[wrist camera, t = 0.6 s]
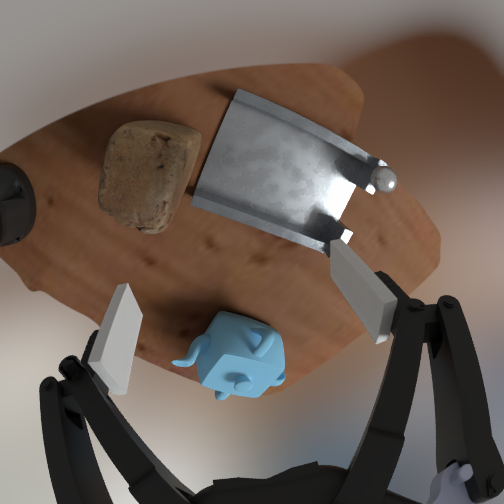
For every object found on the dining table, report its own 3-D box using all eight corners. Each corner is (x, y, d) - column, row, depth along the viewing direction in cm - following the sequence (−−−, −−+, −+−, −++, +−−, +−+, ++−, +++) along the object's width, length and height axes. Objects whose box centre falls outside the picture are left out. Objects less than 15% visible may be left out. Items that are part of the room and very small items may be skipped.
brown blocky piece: (159, 117, 34) (109, 114, 17) (207, 131, 36) (199, 138, 19) (138, 185, 38) (83, 238, 21) (184, 199, 40) (161, 262, 23)
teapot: (272, 294, 50) (289, 345, 38) (281, 351, 58) (295, 400, 46) (177, 312, 50) (170, 366, 38) (201, 366, 57) (201, 416, 45)
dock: (192, 196, 40) (186, 218, 32) (235, 92, 34) (242, 81, 25) (329, 247, 47) (353, 276, 38) (373, 161, 41) (408, 173, 32)
